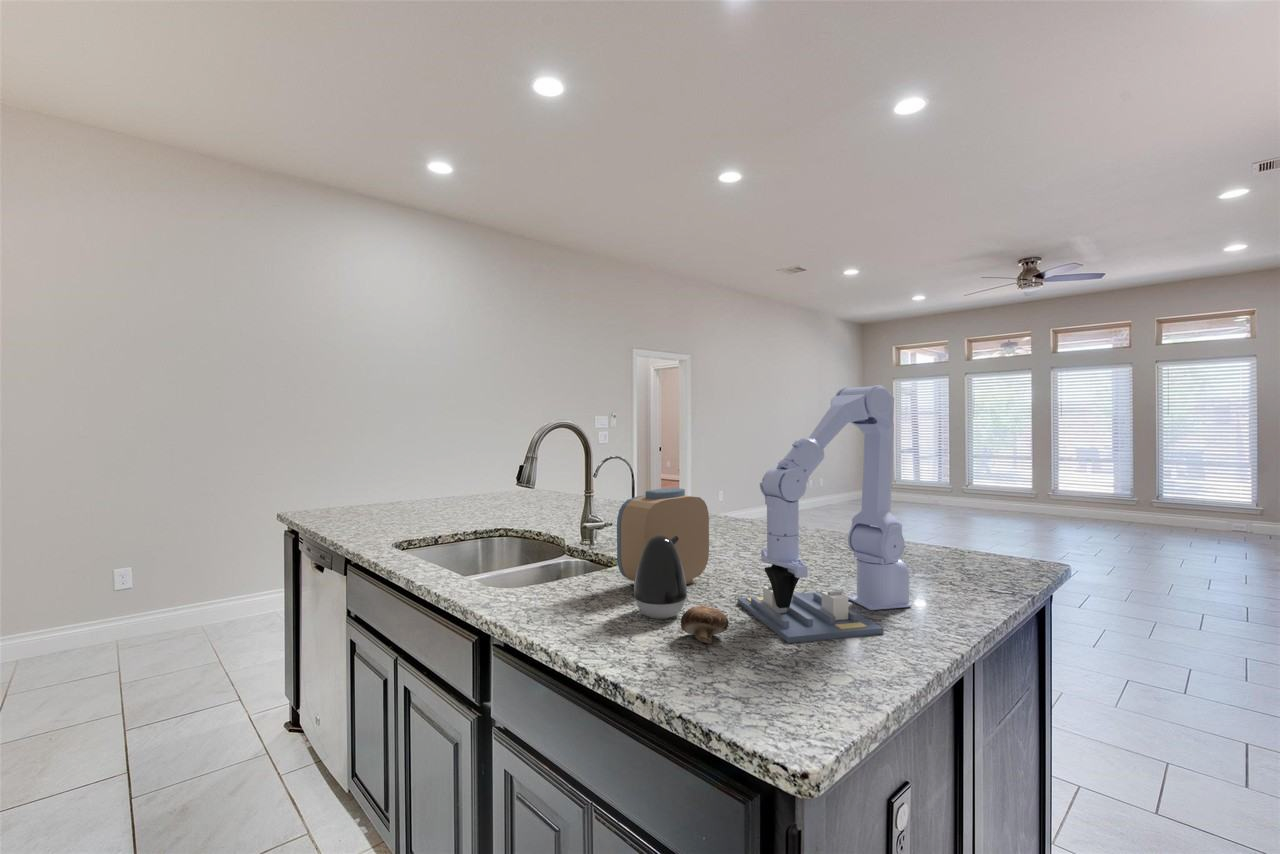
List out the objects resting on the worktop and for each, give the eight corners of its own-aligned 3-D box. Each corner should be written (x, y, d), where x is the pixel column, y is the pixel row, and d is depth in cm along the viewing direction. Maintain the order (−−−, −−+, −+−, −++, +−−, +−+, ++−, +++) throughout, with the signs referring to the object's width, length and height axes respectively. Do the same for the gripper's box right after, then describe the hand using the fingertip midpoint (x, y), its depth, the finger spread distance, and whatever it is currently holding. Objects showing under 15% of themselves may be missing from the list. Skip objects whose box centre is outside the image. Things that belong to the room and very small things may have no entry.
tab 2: (836, 612, 108) (836, 587, 108) (848, 619, 104) (848, 593, 104) (821, 613, 108) (821, 588, 108) (833, 620, 104) (833, 595, 104)
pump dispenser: (698, 613, 111) (698, 535, 111) (663, 627, 104) (662, 543, 104) (658, 602, 118) (658, 528, 118) (622, 615, 111) (622, 536, 111)
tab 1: (777, 605, 112) (777, 582, 112) (787, 612, 108) (786, 588, 108) (763, 607, 112) (763, 583, 112) (772, 613, 108) (772, 589, 108)
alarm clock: (679, 572, 142) (679, 484, 142) (709, 579, 135) (708, 487, 135) (615, 588, 128) (615, 491, 128) (645, 598, 121) (644, 495, 121)
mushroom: (713, 634, 91) (709, 596, 95) (672, 644, 95) (670, 607, 99) (739, 646, 96) (734, 609, 100) (699, 655, 100) (696, 619, 104)
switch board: (817, 596, 122) (817, 586, 122) (883, 633, 100) (883, 621, 100) (737, 603, 118) (737, 592, 118) (788, 643, 96) (788, 629, 96)
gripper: (746, 527, 113) (747, 596, 113) (780, 542, 99) (781, 621, 99) (779, 525, 114) (780, 594, 114) (818, 540, 100) (818, 618, 100)
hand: (783, 606), depth 107 cm, fingers closed
